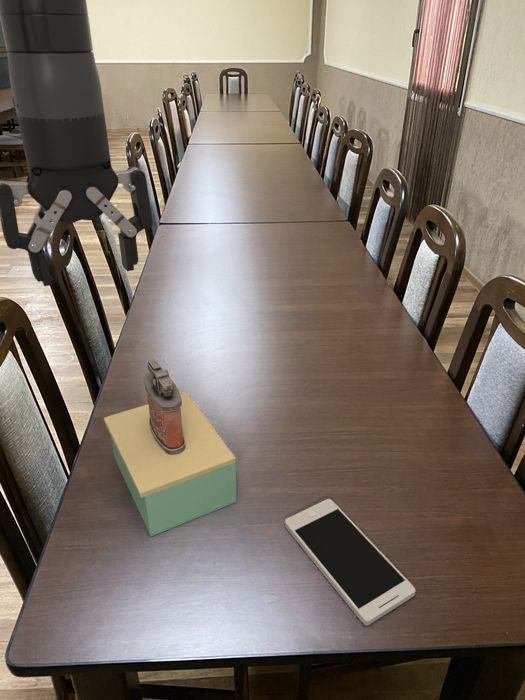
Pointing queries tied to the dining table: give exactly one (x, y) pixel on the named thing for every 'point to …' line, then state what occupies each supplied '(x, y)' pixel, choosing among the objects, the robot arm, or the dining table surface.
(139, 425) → the lunchbox lid
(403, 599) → the smartphone
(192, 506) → the box
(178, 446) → the lighter
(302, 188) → the dining table surface
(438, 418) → the dining table surface
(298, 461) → the dining table surface
